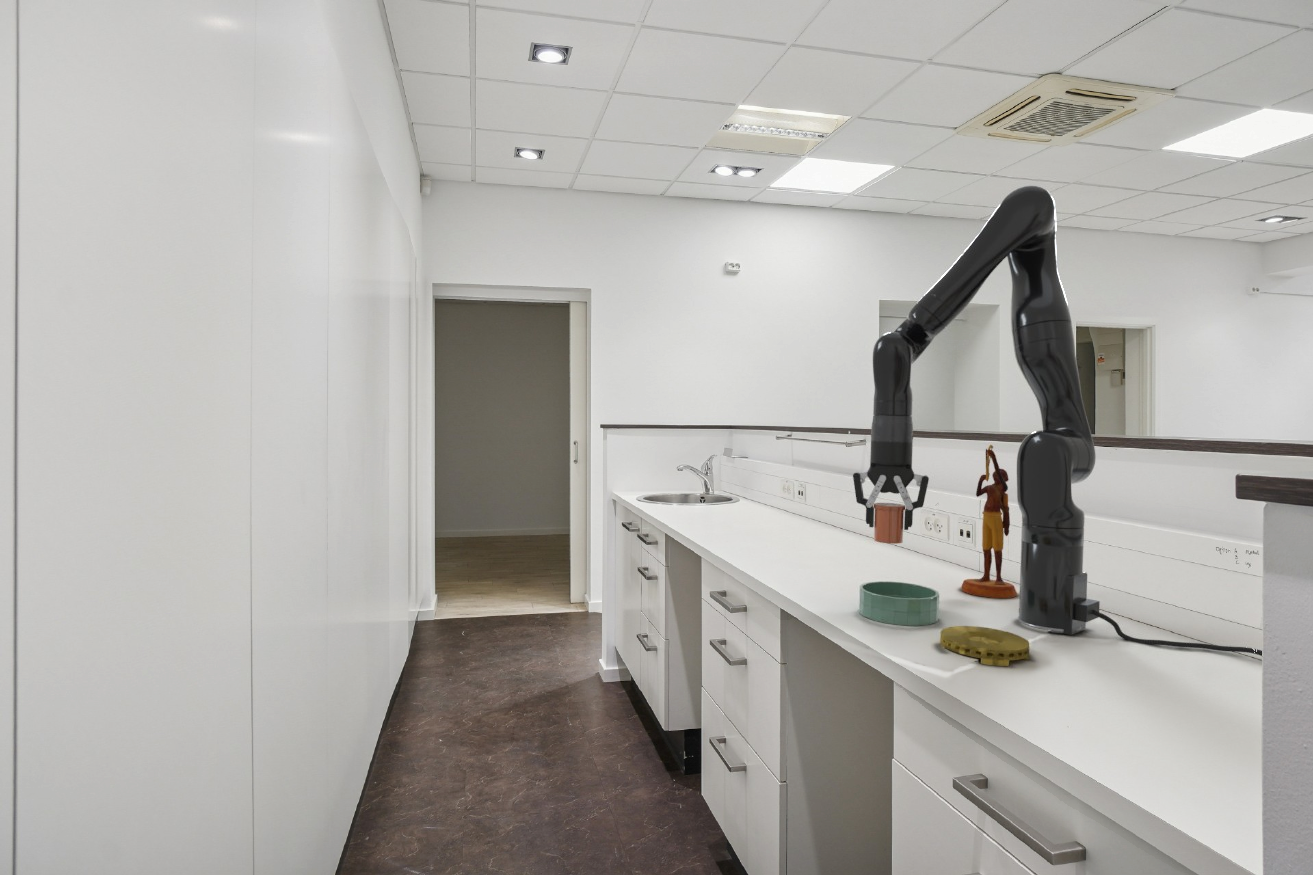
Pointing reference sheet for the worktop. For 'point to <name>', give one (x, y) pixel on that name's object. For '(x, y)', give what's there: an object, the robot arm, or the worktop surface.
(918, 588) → the bowl
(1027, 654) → the olive yellow slotted disc
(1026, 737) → the worktop surface
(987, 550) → the sculpture
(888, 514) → the orange cylinder
